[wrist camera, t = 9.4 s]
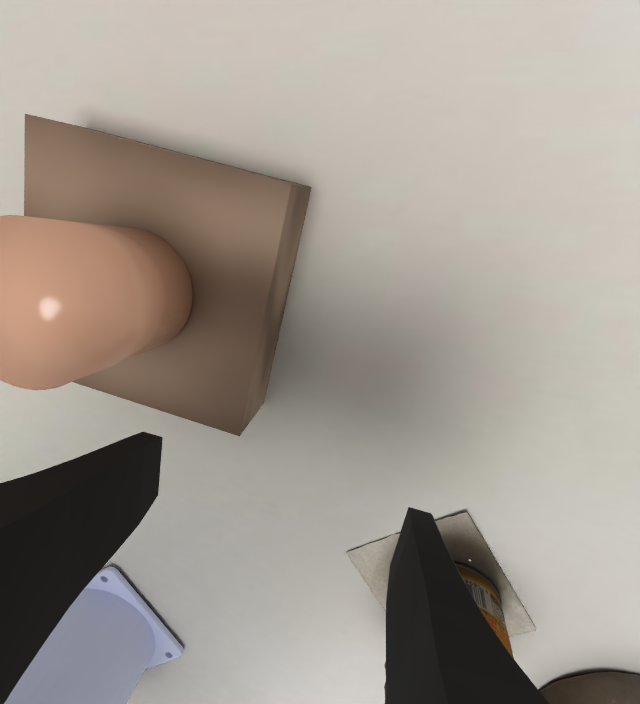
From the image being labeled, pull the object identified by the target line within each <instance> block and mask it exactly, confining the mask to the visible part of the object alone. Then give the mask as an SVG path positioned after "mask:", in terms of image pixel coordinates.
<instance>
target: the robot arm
mask: <svg viewBox="0 0 640 704" xmlns="http://www.w3.org/2000/svg"><path fill="white" fill-rule="evenodd" d="M161 450H162V437H159V436H156V435H152V434H149V433H145V432H141V433H138V434H136V435H133V436H130V437H128V438H125V439H123V440H120V441H118V442H115V443H113V444H110V445H108V446H105V447H103V448H101V449H98V450H95V451H93V452H90V453H88V454H85V455H83V456H80V457H78V458H75V459H73V460H70V461H67V462H64V463H62V464H59V465H56V466H53V467H50V468H48V469H45V470H42V471H39V472H36V473H33V474H30V475H27V476H24V477H21V478H17V479H14V480H10V481H7V482H3V483H0V704H126V703H127V701H128V699H129V697H130V695H131V694H132V692H133V690H134V688H135V687H136V685H137V683H138V681H139V680H140V678H141V676H142V674H143V672H144V671H145V670H146V669H149V668H152V667H155V666H157V665H160V664H163V663H166V662H168V661H171V660H174V659H177V658H179V657H181V655H182V653H183V647H182V646H181V645H180V643H179V642H178V641H177V640H176V639H175V637H174V636H173V635H172V634H171V633H170V631H169V630H168V629H167V628H166V627H165V626H164V624H163V623H162V622H161V621H160V620H159V618H158V617H157V616H156V615H155V614H154V613H153V611H152V610H151V609H150V608H149V607H148V605H147V604H146V603H145V602H144V601H143V599H142V598H141V597H140V596H139V595H138V594H137V592H136V591H135V590H134V589H133V588H132V586H131V585H130V584H129V583H128V582H127V580H126V579H125V578H124V577H123V576H122V575H121V573H120V572H119V571H118V570H117V569H116V568H114V567H107V568H105V569H103V570H101V569H102V567H103V566H104V565H105V564H106V563H107V562H108V560H109V559H110V558H111V557H112V556H113V555H114V553H115V552H116V551H117V550H118V549H119V548H120V546H121V545H122V544H123V543H124V542H125V540H126V539H127V538H128V537H129V536H130V535H131V533H132V532H133V531H134V530H135V528H136V527H137V526H138V525H139V523H140V522H141V520H142V519H143V517H144V516H145V514H146V513H147V511H148V510H149V508H150V507H151V505H152V504H153V502H154V500H155V499H156V497H157V496H158V488H159V475H160V462H161ZM100 570H101V571H100ZM386 704H550V703H549V702H548V701H547V700H546V699H545V698H544V696H543V695H542V694H541V693H540V692H539V690H538V689H537V688H536V687H535V685H534V684H533V683H532V682H531V680H530V679H529V678H528V677H527V675H526V674H525V673H524V672H523V670H522V669H521V668H520V667H519V665H518V664H517V663H516V661H515V660H514V659H513V657H512V656H511V655H510V653H509V652H508V651H507V649H506V648H505V646H504V645H503V644H502V642H501V641H500V639H499V638H498V636H497V635H496V633H495V632H494V631H493V629H492V628H491V626H490V625H489V623H488V622H487V620H486V618H485V617H484V615H483V614H482V612H481V610H480V609H479V607H478V605H477V603H476V602H475V600H474V598H473V597H472V595H471V593H470V591H469V590H468V588H467V586H466V584H465V582H464V580H463V579H462V577H461V575H460V573H459V571H458V569H457V567H456V565H455V563H454V561H453V559H452V557H451V555H450V553H449V551H448V549H447V547H446V544H445V542H444V540H443V538H442V536H441V534H440V531H439V529H438V527H437V524H436V522H435V520H434V518H433V516H432V514H431V513H427V512H424V511H420V510H417V509H413V508H410V507H409V508H408V511H407V514H406V517H405V520H404V523H403V526H402V529H401V532H400V536H399V539H398V542H397V545H396V548H395V551H394V554H393V557H392V560H391V563H390V570H389V578H388V587H387V597H386Z"/></svg>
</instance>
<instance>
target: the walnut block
mask: <svg viewBox="0 0 640 704" xmlns="http://www.w3.org/2000/svg"><path fill="white" fill-rule="evenodd" d="M310 192H311V187H308V186H304V185H300V184H297V183H293V182H289V181H285V180H282V179H278V178H274V177H270V176H266V175H263V174H259V173H255V172H251V171H247V170H244V169H240V168H236V167H232V166H228V165H225V164H221V163H217V162H213V161H210V160H206V159H202V158H198V157H194V156H191V155H187V154H183V153H179V152H175V151H172V150H168V149H164V148H160V147H156V146H153V145H149V144H145V143H141V142H138V141H134V140H130V139H126V138H122V137H119V136H115V135H111V134H107V133H103V132H100V131H96V130H92V129H88V128H84V127H80V126H76V125H71V124H67V123H63V122H58V121H54V120H50V119H45V118H41V117H36V116H32V115H28V114H25V187H24V216H28V217H37V218H46V219H55V220H63V221H72V222H81V223H90V224H99V225H108V226H116V227H125V228H134V229H141V230H145V231H148V232H151V233H153V234H155V235H157V236H159V237H161V238H162V239H164V240H165V241H167V242H168V243H169V244H170V245H171V246H172V247H173V248H174V249H175V250H176V251H177V253H178V254H179V255H180V257H181V258H182V260H183V261H184V263H185V265H186V267H187V270H188V272H189V275H190V279H191V283H192V291H193V296H192V307H191V311H190V314H189V317H188V319H187V322H186V323H185V325H184V327H183V328H182V329H181V331H180V332H179V333H178V334H177V335H176V336H175V337H174V338H173V339H171V340H170V341H169V342H167V343H165V344H163V345H161V346H159V347H156V348H154V349H151V350H149V351H146V352H144V353H142V354H139V355H137V356H134V357H132V358H129V359H127V360H124V361H122V362H119V363H117V364H114V365H112V366H110V367H107V368H105V369H102V370H100V371H97V372H95V373H92V374H90V375H87V376H85V377H82V378H80V379H78V380H75V381H73V382H75V383H78V384H81V385H84V386H87V387H90V388H93V389H96V390H99V391H102V392H105V393H108V394H111V395H115V396H118V397H121V398H124V399H127V400H130V401H133V402H136V403H139V404H142V405H145V406H148V407H151V408H155V409H158V410H161V411H164V412H167V413H170V414H173V415H176V416H179V417H182V418H185V419H188V420H191V421H194V422H198V423H201V424H204V425H207V426H210V427H213V428H216V429H219V430H222V431H225V432H228V433H231V434H234V435H238V436H240V435H241V433H242V432H243V431H244V429H245V428H246V427H247V425H248V424H249V422H250V421H251V420H252V418H253V417H254V416H255V414H256V413H257V411H258V410H259V409H260V407H261V406H262V405H263V403H264V399H265V394H266V390H267V385H268V381H269V376H270V372H271V367H272V363H273V358H274V354H275V349H276V345H277V340H278V336H279V331H280V327H281V322H282V318H283V313H284V309H285V304H286V300H287V295H288V291H289V286H290V282H291V277H292V273H293V268H294V264H295V259H296V255H297V250H298V246H299V241H300V237H301V232H302V228H303V223H304V219H305V214H306V210H307V205H308V201H309V196H310Z"/></svg>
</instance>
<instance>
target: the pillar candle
mask: <svg viewBox="0 0 640 704" xmlns="http://www.w3.org/2000/svg"><path fill="white" fill-rule="evenodd" d="M540 693H541V694H542V695H543V696H544V698H545V699H546V700H547V701H548V702H549V703H550V704H640V675H637V674H628V673H620V672H599V673H591V674H586V675H581V676H576V677H571V678H567V679H562V680H559V681H556V682H554V683H552V684H550V685H548V686H547V687H546V688H543V689H542V690H541V691H540Z"/></svg>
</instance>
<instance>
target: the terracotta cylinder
mask: <svg viewBox="0 0 640 704" xmlns="http://www.w3.org/2000/svg"><path fill="white" fill-rule="evenodd" d="M192 296H193V291H192V283H191V279H190V275H189V272H188V270H187V267H186V265H185V263H184V261H183V260H182V258H181V257H180V255H179V254H178V253H177V251H176V250H175V249H174V248H173V247H172V246H171V245H170V244H169V243H168V242H167V241H165V240H164V239H162V238H161V237H159V236H157V235H155V234H153V233H151V232H148V231H145V230H141V229H134V228H125V227H116V226H108V225H99V224H90V223H81V222H72V221H63V220H55V219H46V218H37V217H28V216H17V215H8V216H0V380H2V381H4V382H6V383H8V384H11V385H13V386H16V387H20V388H24V389H32V390H46V389H52V388H56V387H59V386H63V385H65V384H68V383H70V382H73V381H75V380H78V379H80V378H82V377H85V376H87V375H90V374H92V373H95V372H97V371H100V370H102V369H105V368H107V367H110V366H112V365H114V364H117V363H119V362H122V361H124V360H127V359H129V358H132V357H134V356H137V355H139V354H142V353H144V352H146V351H149V350H151V349H154V348H156V347H159V346H161V345H163V344H165V343H167V342H169V341H170V340H171V339H173V338H174V337H175V336H176V335H177V334H178V333H179V332H180V331H181V329H182V328H183V327H184V325H185V323H186V322H187V319H188V317H189V314H190V311H191V307H192Z"/></svg>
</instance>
